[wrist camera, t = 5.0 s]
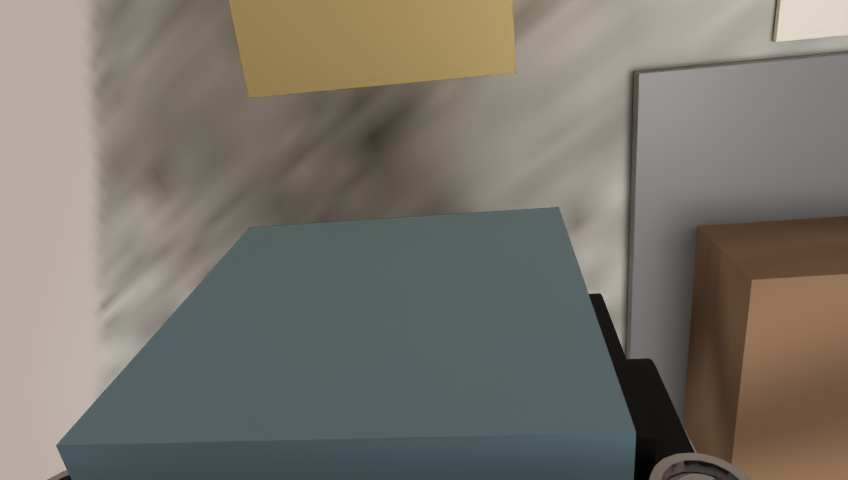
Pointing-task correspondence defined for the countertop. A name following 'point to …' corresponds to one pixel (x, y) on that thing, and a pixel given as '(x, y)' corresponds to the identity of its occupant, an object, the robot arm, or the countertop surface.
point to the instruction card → (810, 19)
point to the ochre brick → (369, 42)
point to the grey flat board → (723, 177)
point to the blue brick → (373, 362)
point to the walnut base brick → (771, 348)
